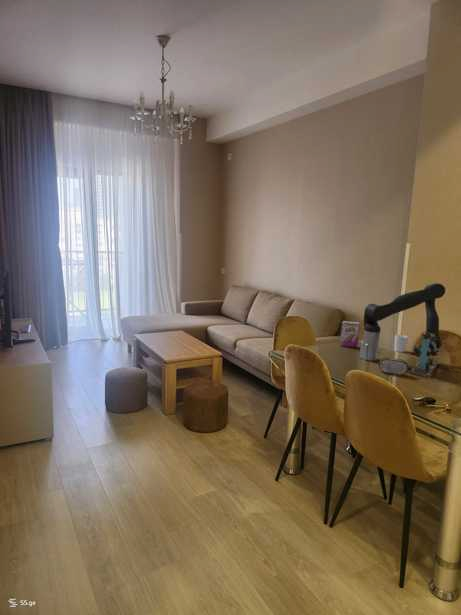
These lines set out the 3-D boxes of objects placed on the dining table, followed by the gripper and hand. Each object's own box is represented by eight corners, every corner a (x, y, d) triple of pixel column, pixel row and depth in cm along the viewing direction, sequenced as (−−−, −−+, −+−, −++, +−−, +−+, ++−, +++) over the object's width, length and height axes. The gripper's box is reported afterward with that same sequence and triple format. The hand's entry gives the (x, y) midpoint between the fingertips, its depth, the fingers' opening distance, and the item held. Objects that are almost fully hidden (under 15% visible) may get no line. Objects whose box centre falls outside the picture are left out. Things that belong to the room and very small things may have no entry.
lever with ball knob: (426, 373, 231) (432, 333, 227) (414, 371, 234) (420, 331, 230) (429, 368, 241) (435, 330, 237) (418, 366, 244) (423, 328, 240)
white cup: (406, 350, 285) (408, 336, 283) (405, 353, 278) (407, 338, 276) (393, 348, 288) (395, 334, 286) (392, 351, 281) (394, 336, 279)
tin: (407, 375, 232) (409, 360, 230) (407, 376, 229) (409, 361, 227) (377, 370, 237) (379, 355, 235) (377, 372, 234) (379, 357, 232)
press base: (429, 377, 229) (431, 369, 229) (410, 373, 235) (411, 365, 234) (437, 364, 256) (438, 356, 256) (419, 360, 261) (420, 353, 261)
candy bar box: (339, 346, 285) (342, 322, 283) (339, 344, 290) (342, 320, 287) (357, 348, 283) (360, 323, 280) (356, 346, 288) (359, 322, 285)
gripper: (415, 339, 248) (410, 344, 234) (442, 343, 241) (438, 349, 227) (414, 351, 250) (408, 357, 235) (440, 356, 242) (436, 363, 228)
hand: (423, 353), depth 231 cm, fingers closed on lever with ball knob, 3 cm apart
